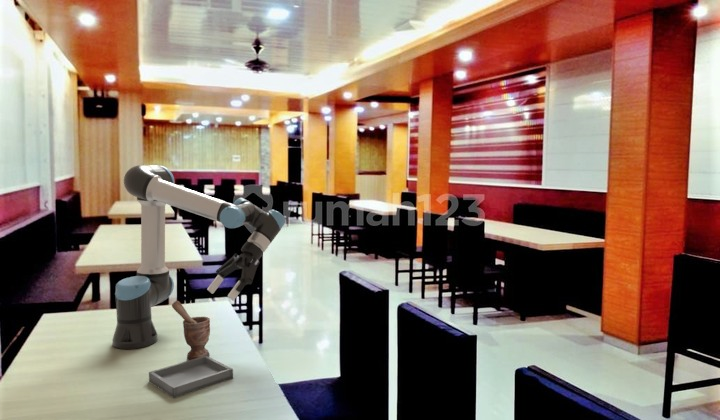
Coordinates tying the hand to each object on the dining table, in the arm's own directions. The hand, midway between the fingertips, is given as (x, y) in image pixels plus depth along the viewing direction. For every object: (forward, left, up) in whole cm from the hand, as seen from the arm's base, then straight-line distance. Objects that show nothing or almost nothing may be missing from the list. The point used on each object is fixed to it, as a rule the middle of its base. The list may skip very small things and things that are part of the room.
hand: (219, 295), depth 184 cm
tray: (+16, -20, -20) cm, 32 cm away
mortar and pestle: (0, -11, -20) cm, 23 cm away
